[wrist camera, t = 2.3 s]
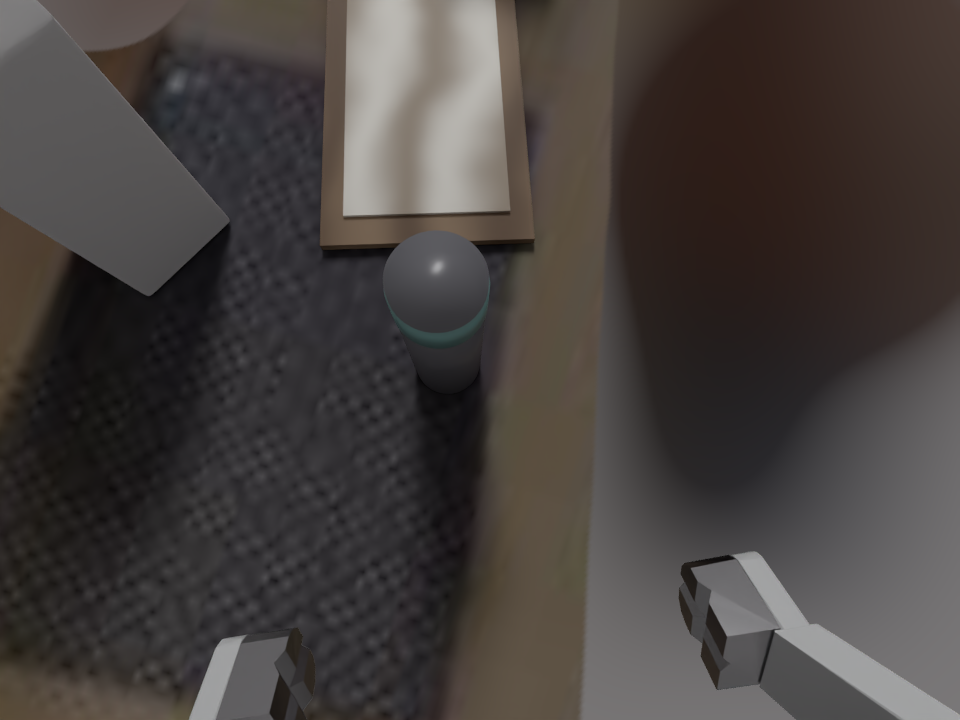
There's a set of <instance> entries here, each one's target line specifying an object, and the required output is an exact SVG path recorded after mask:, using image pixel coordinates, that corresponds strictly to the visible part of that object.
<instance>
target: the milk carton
mask: <svg viewBox="0 0 960 720" xmlns="http://www.w3.org/2000/svg"><path fill="white" fill-rule="evenodd" d="M0 207H1V208H2V209H4V210H6V211H7V212H9V213H11V214H12V215H14V216H16V217H17V218H19V219H21V220H22V221H24V222H25V223H27V224H29V225H30V226H32V227H34V228H35V229H37V230H39V231H40V232H42V233H44V234H45V235H47V236H49V237H50V238H52V239H53V240H55V241H57V242H58V243H60V244H62V245H63V246H65V247H67V248H68V249H70V250H72V251H73V252H75V253H77V254H78V255H80V256H81V257H83V258H85V259H86V260H88V261H90V262H91V263H93V264H95V265H96V266H98V267H100V268H101V269H103V270H105V271H106V272H108V273H110V274H111V275H113V276H114V277H116V278H118V279H119V280H121V281H123V282H124V283H126V284H128V285H129V286H131V287H133V288H134V289H136V290H138V291H139V292H141V293H142V294H144V295H146V296H151V295H152V294H153V293H154V292H156V291H157V290H158V289H159V288H160V287H161V286H162V285H163V284H164V283H165V282H166V281H167V280H168V279H170V278H171V277H172V276H173V275H174V274H175V273H176V272H177V271H178V270H179V269H180V268H181V267H182V266H183V265H184V264H186V263H187V262H188V261H189V260H190V259H191V258H192V257H193V256H194V255H195V254H196V253H197V252H198V251H199V250H200V249H202V248H203V247H204V246H205V245H206V244H207V243H208V242H209V241H210V240H211V239H212V238H213V237H214V236H215V235H216V234H217V233H219V232H220V231H221V230H222V229H223V228H224V227H225V226H226V225H227V224H228V223H229V218H228V217H227V215H226V214H225V213H224V212H223V211H222V210H221V209H220V207H219V206H218V205H217V204H216V203H215V202H214V201H213V199H212V198H211V197H210V196H209V195H208V194H207V193H206V191H205V190H204V189H203V188H202V187H201V186H200V185H199V183H198V182H197V181H196V180H195V179H194V178H193V176H192V175H191V174H190V173H189V172H188V171H187V170H186V168H185V167H184V166H183V165H182V164H181V163H180V162H179V160H178V159H177V158H176V157H175V156H174V155H173V154H172V152H171V151H170V150H169V149H168V148H167V147H166V146H165V144H164V143H163V142H162V141H161V140H160V139H159V138H158V136H157V135H156V134H155V133H154V132H153V131H152V129H151V128H150V127H149V126H148V125H147V124H146V123H145V121H144V120H143V119H142V118H141V117H140V116H139V115H138V113H137V112H136V111H135V110H134V109H133V108H132V107H131V105H130V104H129V103H128V102H127V101H126V100H125V99H124V97H123V96H122V95H121V94H120V93H119V92H118V90H117V89H116V88H115V87H114V86H113V85H112V84H111V82H110V81H109V80H108V79H107V78H106V77H105V76H104V74H103V73H102V72H101V71H100V70H99V69H98V68H97V66H96V65H95V64H94V63H93V62H92V61H91V60H90V58H89V57H88V56H87V55H86V54H85V53H84V52H83V50H82V49H81V48H80V47H79V46H78V45H77V44H76V42H75V41H74V40H73V39H72V38H71V37H70V35H69V34H68V33H67V32H66V31H65V30H64V29H63V27H62V26H61V25H60V24H59V23H58V22H57V21H56V19H55V18H54V17H53V16H52V15H51V14H50V13H49V12H48V11H47V10H46V9H45V8H44V7H43V6H42V5H41V4H40V3H39V2H38V1H37V0H0Z"/></svg>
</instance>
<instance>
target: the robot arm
mask: <svg viewBox="0 0 960 720" xmlns="http://www.w3.org/2000/svg"><path fill="white" fill-rule="evenodd" d="M681 576H682V578H683V580H684V583H683V585H681V586H680V588H679V602H680V607H681V612H682V615H683V618H684V620H685V623H686V625H687V627H688V630H689V632H690V634H691V635H692V636H693V637H695V638H696V639H697V640H699V641H700V642H701V643H702V651H701V658H702V660H703V662H704V664H705V666H706V668H707V670H708V673H709V675H710V677H711V679H712V681H713V683H714V685H715V687H716V689H717V690H721V689H728V688H736V687H743V686H750V685H758V684H760V688H761V689H763V690H764V691H765V692H766V693H767V694H768V695H769V696H770V697H772V698H773V699H774V700H775V701H776V702H777V703H779V705H780V706H782V707H783V708H784V709H785V710H786V711H787V712H788V713H789V714H791V715H792V716H793V717H794V718H795V719H796V720H960V715H959V714H958V713H956V712H954V711H953V710H951V709H950V708H948V707H947V706H945V705H944V704H942V703H940V702H939V701H937V700H936V699H934V698H932V697H931V696H929V695H928V694H926V693H924V692H923V691H922V690H920V689H919V688H917V687H915V686H914V685H912V684H911V683H909V682H908V681H906V680H904V679H903V678H901V677H899V676H898V675H897V674H895V673H893V672H892V671H890V670H889V669H887V668H886V667H884V666H883V665H881V664H879V663H878V662H876V661H875V660H873V659H872V658H870V657H868V656H867V655H865V654H864V653H862V652H861V651H859V650H858V649H856V648H854V647H853V646H851V645H850V644H848V643H847V642H845V641H844V640H842V639H840V638H839V637H837V636H836V635H834V634H832V633H831V632H829V631H828V630H826V629H825V628H823V627H822V626H820V625H818V624H809V623H808V621H807V620H806V619H805V617H804V616H803V614H802V613H801V611H800V610H799V609H798V607H797V606H796V604H795V603H794V601H793V600H792V599H791V597H790V596H789V594H788V593H787V591H786V590H785V589H784V587H783V586H782V584H781V583H780V582H779V580H778V579H777V577H776V576H775V574H774V573H773V572H772V570H771V569H770V567H769V566H768V565H767V563H766V562H765V560H764V559H763V557H762V556H761V555H760V554H758V553H757V552H753V551H751V552H746V553H741V554H735V555H725V556H720V557H714V558H709V559H703V560H698V561H692V562H687V563H684V564H683V565H682V568H681ZM302 639H303V636H302V634H301V632H300V631H299V629H298V628H291V629H285V630H278V631H272V632H265V633H259V634H253V635H244V636H238V637H232V638H226V639H222V640H221V642H220V643H219V644H218V646H217V647H216V649H215V651H214V653H213V656H212V659H211V661H210V664H209V667H208V669H207V672H206V675H205V677H204V680H203V683H202V685H201V688H200V691H199V693H198V696H197V699H196V701H195V704H194V707H193V709H192V712H191V715H190V717H189V720H307V719H306V717H305V715H304V712H303V710H304V709H305V707H306V706H307V704H308V703H309V702H310V700H311V699H312V698H313V692H314V686H315V662H314V658H313V655H312V653H311V651H310V649H309V648H307V647H305V646H302V645H301V644H302Z"/></svg>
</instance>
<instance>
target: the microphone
mask: <svg viewBox="0 0 960 720" xmlns="http://www.w3.org/2000/svg"><path fill="white" fill-rule="evenodd" d="M383 288H384V294H385V299H386V301H387V304H388V306H389V309H390V311H391V313H392V316H393V318H394V321H395V323H396V324H397V326H398V328H399V329H400V332H401V334H402V337H403V339H404V342H405V344H406V346H407V349H408V351H409V354H410V356H411V358H412V361H413V363H414V366H415V368H416V370H417V373H418V375H419V377H420V379H421V380H422V382H423V383H424V384H425V385H426V386H427V387H428V388H430V389H431V390H433V391H435V392H438V393H442V394H453V393H458V392H460V391H462V390H464V389H466V388H467V387H469V386H470V385H471V384H472V383H473V381H474V380H475V378H476V377H477V375H478V372H479V368H480V360H481V351H482V342H483V333H484V324H485V317H486V313H487V308H488V299H489V291H490V279H489V271H488V267H487V264H486V261H485V259H484V257H483V255H482V254H481V252H480V251H479V250H478V249H477V247H476V246H475V245H474V244H472V243H471V242H470V241H469V240H467V239H466V238H464V237H462V236H460V235H458V234H455V233H452V232H448V231H438V230H434V231H426V232H421V233H418V234H415V235H413V236H411V237H409V238H407V239H406V240H404V241H403V242H402V243H400V244H399V245H398V246H397V247H396V248H395V249H394V250H393V252H392V253H391V255H390V256H389V258H388V260H387V262H386V265H385V268H384V273H383Z"/></svg>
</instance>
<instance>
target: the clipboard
mask: <svg viewBox="0 0 960 720" xmlns="http://www.w3.org/2000/svg"><path fill="white" fill-rule="evenodd" d="M434 230H438V231H448V232H452V233H455V234H458V235H460V236H462V237H464V238H466V239H467V240H469V241H470V242H471V243H472V244H474V245H489V244H519V243H534V240H535V236H534V224H533V212H532V200H531V188H530V176H529V165H528V153H527V141H526V129H525V117H524V106H523V94H522V82H521V70H520V58H519V46H518V35H517V23H516V11H515V0H328V2H327V34H326V66H325V97H324V129H323V161H322V193H321V225H320V247H321V248H322V250H336V249H367V248H396V247H397V246H398V245H399V244H400V243H402V242H403V241H404V240H406V239H407V238H409V237H411V236H413V235H415V234H418V233H421V232H426V231H434Z"/></svg>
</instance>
